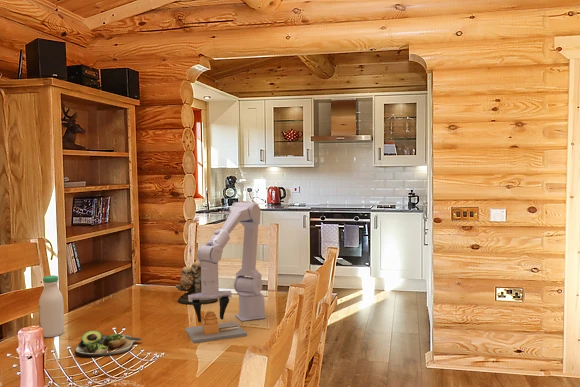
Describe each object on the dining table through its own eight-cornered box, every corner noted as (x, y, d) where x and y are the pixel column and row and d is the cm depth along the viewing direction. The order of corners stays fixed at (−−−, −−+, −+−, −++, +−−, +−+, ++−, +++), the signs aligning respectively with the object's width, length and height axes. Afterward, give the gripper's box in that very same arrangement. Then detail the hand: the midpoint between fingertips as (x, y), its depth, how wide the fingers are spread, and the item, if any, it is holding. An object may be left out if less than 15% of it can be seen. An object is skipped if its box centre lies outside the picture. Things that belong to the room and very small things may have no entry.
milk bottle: (69, 331, 170) (68, 275, 169) (52, 338, 163) (50, 279, 162) (52, 329, 173) (50, 273, 172) (34, 336, 165) (32, 278, 165)
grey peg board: (235, 324, 177) (235, 312, 177) (246, 335, 164) (246, 323, 164) (185, 330, 170) (185, 318, 170) (193, 343, 158) (193, 330, 157)
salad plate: (143, 336, 166) (143, 322, 166) (139, 355, 149) (139, 340, 148) (83, 340, 162) (82, 327, 162) (71, 360, 144) (71, 345, 144)
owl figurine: (173, 305, 204) (172, 265, 203) (178, 298, 215) (177, 260, 215) (216, 304, 205) (216, 264, 204) (219, 297, 217) (218, 259, 216)
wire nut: (215, 329, 169) (215, 310, 169) (218, 332, 165) (218, 313, 164) (202, 330, 167) (202, 311, 167) (205, 334, 163) (205, 315, 163)
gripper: (190, 285, 159) (191, 326, 159) (233, 280, 164) (234, 320, 165) (186, 280, 165) (187, 320, 166) (228, 276, 171) (228, 315, 171)
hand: (210, 320), depth 166 cm, fingers open, 7 cm apart
